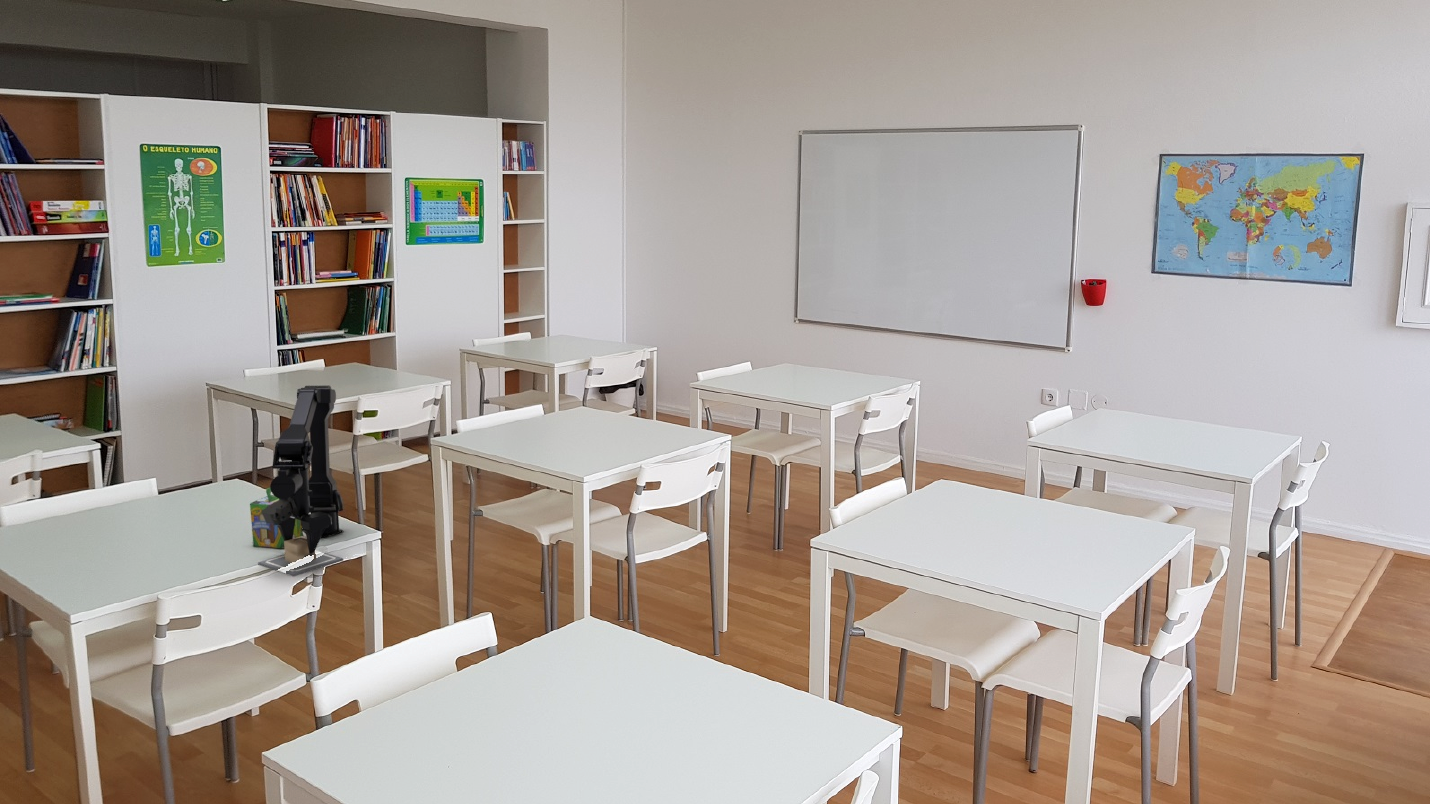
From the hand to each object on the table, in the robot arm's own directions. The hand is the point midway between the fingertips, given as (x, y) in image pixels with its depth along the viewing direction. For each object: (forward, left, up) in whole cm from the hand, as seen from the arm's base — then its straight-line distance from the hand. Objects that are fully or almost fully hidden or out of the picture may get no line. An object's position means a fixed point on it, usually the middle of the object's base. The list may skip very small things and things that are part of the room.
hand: (300, 549), depth 270 cm
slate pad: (0, 0, -3) cm, 3 cm away
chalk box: (-6, -18, -4) cm, 19 cm away
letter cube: (0, 0, -3) cm, 3 cm away
